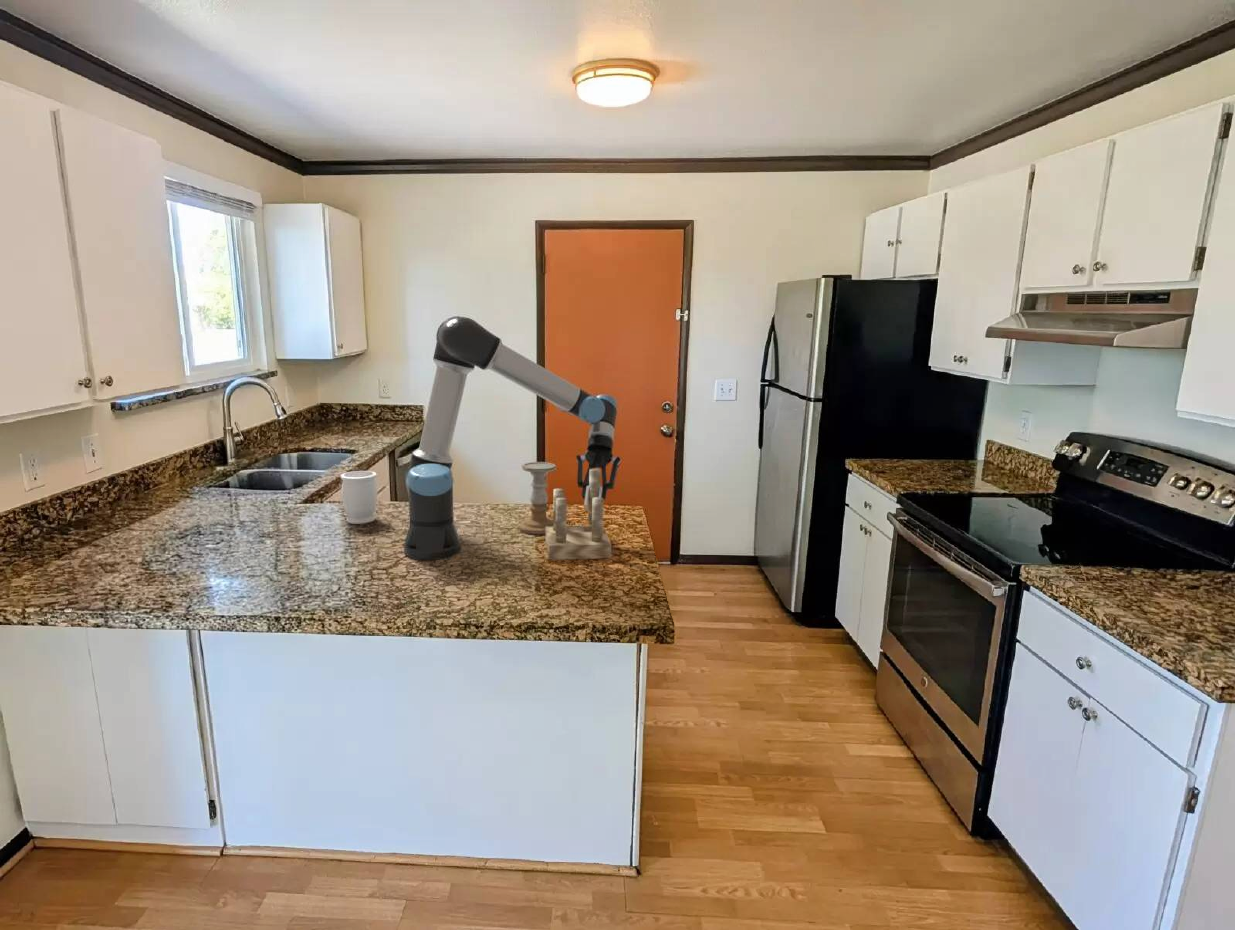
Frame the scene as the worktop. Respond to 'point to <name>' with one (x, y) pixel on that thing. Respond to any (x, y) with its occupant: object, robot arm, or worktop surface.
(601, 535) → the stool
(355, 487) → the jar
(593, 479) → the stool leg
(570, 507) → the worktop surface
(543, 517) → the candle holder
